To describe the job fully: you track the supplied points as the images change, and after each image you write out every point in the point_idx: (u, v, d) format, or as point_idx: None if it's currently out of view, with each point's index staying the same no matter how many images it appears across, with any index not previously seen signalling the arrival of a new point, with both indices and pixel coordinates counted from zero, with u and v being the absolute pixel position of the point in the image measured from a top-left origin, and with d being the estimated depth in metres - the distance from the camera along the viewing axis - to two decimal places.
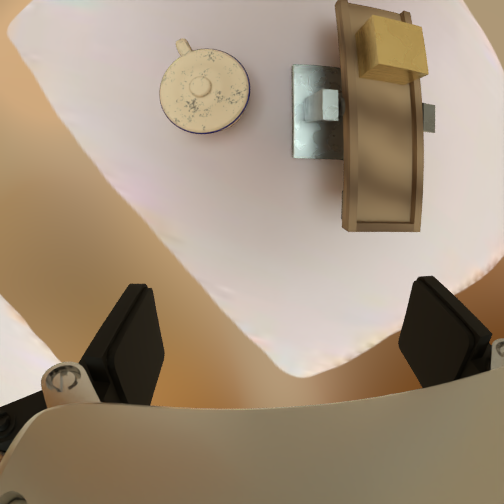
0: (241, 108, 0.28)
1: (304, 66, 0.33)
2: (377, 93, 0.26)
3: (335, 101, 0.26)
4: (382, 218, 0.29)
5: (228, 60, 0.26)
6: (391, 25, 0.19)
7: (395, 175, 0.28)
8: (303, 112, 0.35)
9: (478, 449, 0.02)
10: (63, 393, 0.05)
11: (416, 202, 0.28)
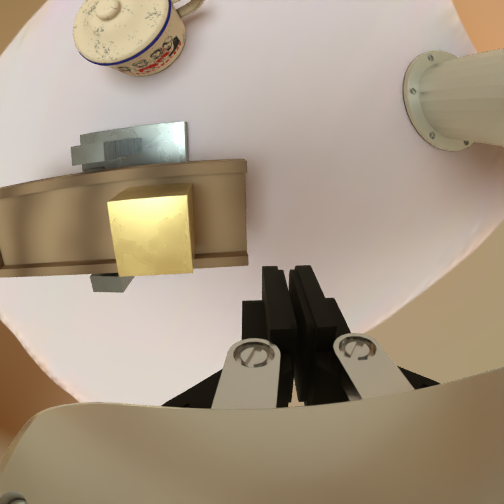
0: (91, 58, 0.19)
1: (182, 134, 0.29)
2: None
3: (91, 159, 0.21)
4: None
5: (147, 33, 0.19)
6: (176, 224, 0.19)
7: (34, 242, 0.22)
8: (126, 138, 0.29)
9: (478, 449, 0.02)
10: (245, 368, 0.06)
11: (15, 269, 0.22)
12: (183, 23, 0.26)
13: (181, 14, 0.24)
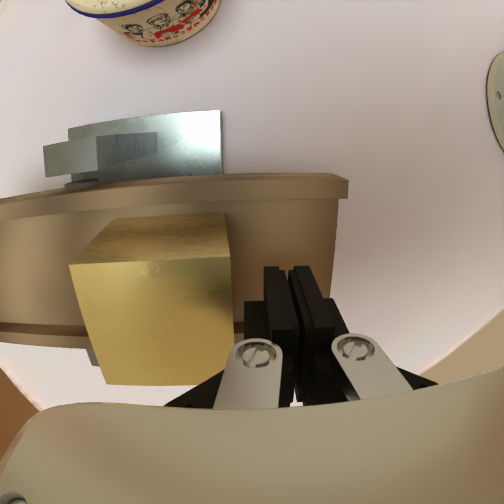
0: (84, 8, 0.10)
1: (216, 129, 0.20)
2: None
3: (75, 167, 0.12)
4: None
5: None
6: (208, 309, 0.10)
7: (0, 293, 0.13)
8: (133, 132, 0.20)
9: (478, 449, 0.02)
10: (247, 368, 0.06)
11: None
12: None
13: None
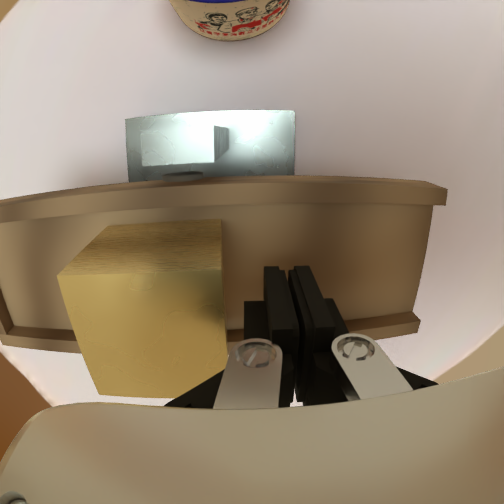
0: None
1: (291, 129, 0.20)
2: None
3: (185, 157, 0.12)
4: (0, 275, 0.13)
5: None
6: (199, 324, 0.09)
7: None
8: None
9: (478, 449, 0.02)
10: (247, 368, 0.06)
11: (34, 339, 0.13)
12: None
13: None
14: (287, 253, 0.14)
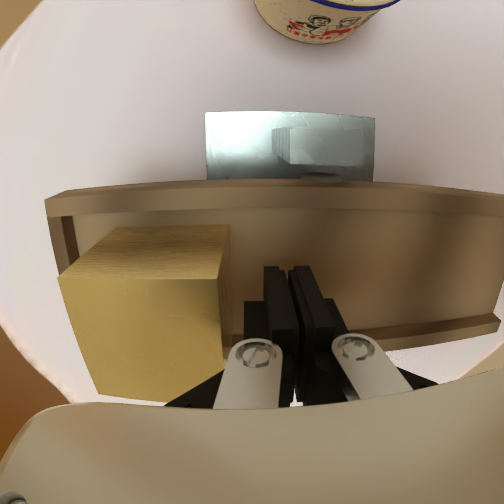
0: None
1: (372, 135, 0.20)
2: (354, 261, 0.13)
3: (335, 158, 0.12)
4: None
5: None
6: (195, 332, 0.09)
7: None
8: None
9: (478, 449, 0.02)
10: (247, 368, 0.06)
11: None
12: None
13: None
14: (410, 257, 0.13)
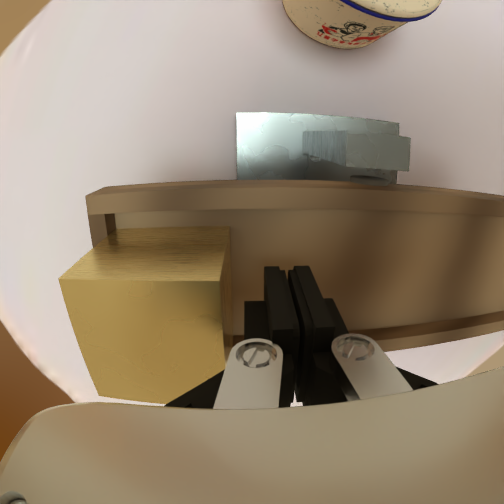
0: None
1: None
2: (398, 261, 0.14)
3: (386, 163, 0.12)
4: None
5: None
6: (197, 333, 0.09)
7: None
8: (320, 130, 0.20)
9: (478, 449, 0.02)
10: (248, 368, 0.06)
11: None
12: None
13: None
14: (446, 257, 0.14)
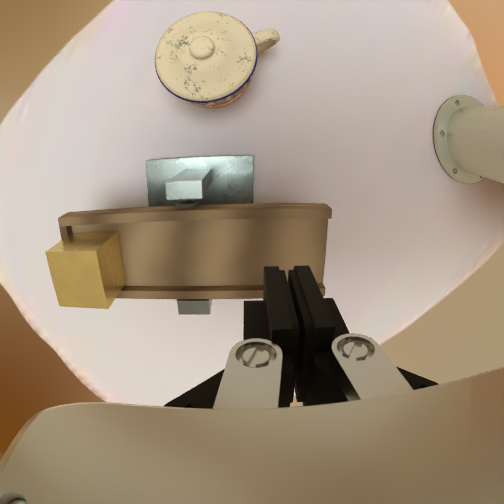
0: (179, 94, 0.24)
1: (250, 167, 0.34)
2: (205, 246, 0.27)
3: (188, 195, 0.25)
4: None
5: (238, 77, 0.23)
6: (92, 271, 0.22)
7: None
8: (195, 167, 0.33)
9: (478, 449, 0.02)
10: (247, 368, 0.06)
11: None
12: None
13: None
14: (239, 244, 0.27)
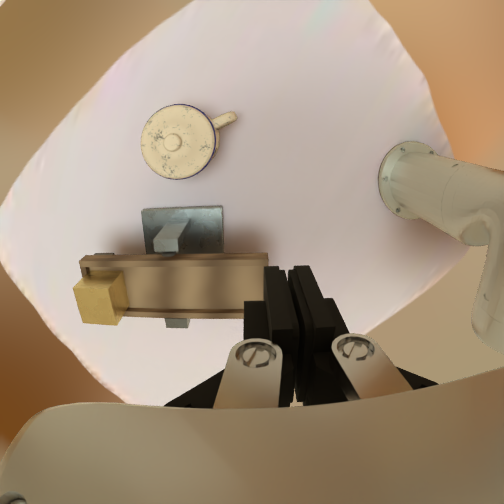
0: (160, 174, 0.35)
1: (220, 217, 0.45)
2: (182, 282, 0.38)
3: (168, 249, 0.36)
4: None
5: (201, 161, 0.34)
6: (105, 301, 0.33)
7: None
8: (178, 217, 0.45)
9: (478, 449, 0.02)
10: (247, 368, 0.06)
11: None
12: None
13: None
14: (205, 281, 0.38)
